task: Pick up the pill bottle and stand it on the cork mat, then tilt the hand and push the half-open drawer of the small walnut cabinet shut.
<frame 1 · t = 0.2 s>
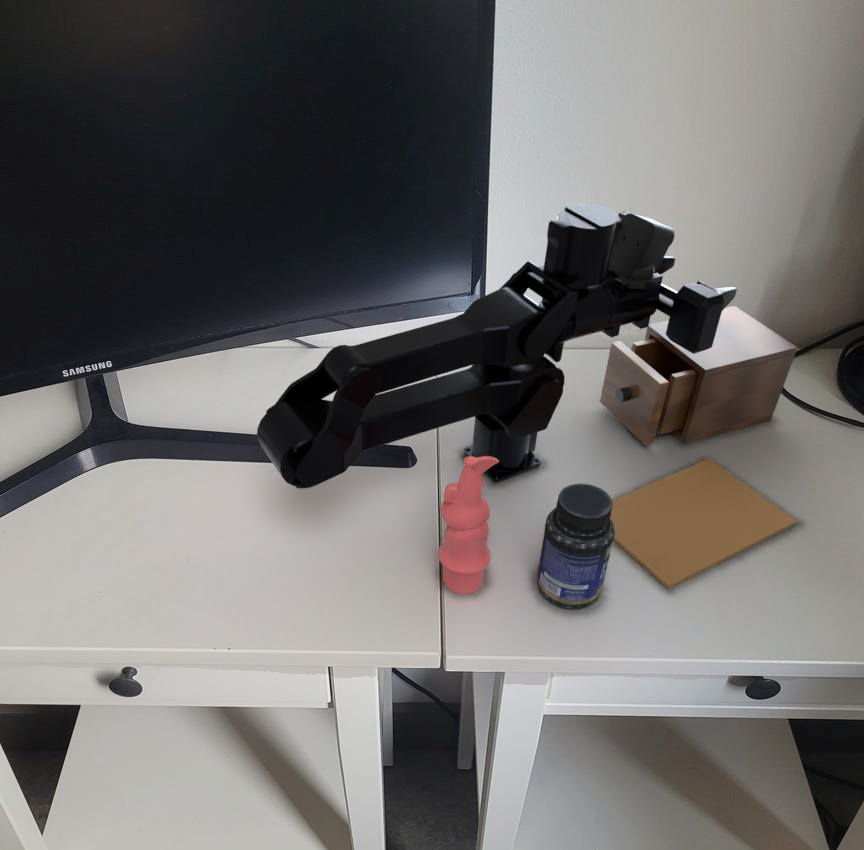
hand: (703, 276, 91), 17 cm above the table, tool horizontal, fingers open, 9 cm apart
drawer: (665, 384, 95), point 5 cm above the table, slide at 4.0 cm
pill bottle: (567, 588, 78), on the table
mat: (689, 519, 85), on the table
figurine: (462, 579, 79), on the table
cabinet: (699, 408, 100), on the table
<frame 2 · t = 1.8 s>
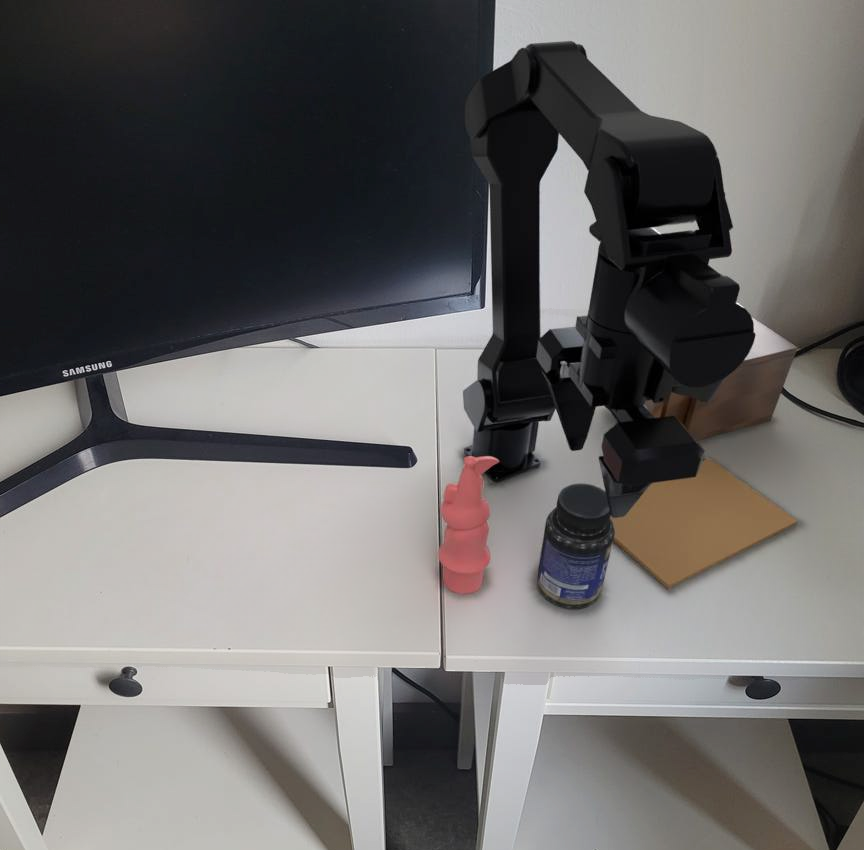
hand: (595, 481, 69), 13 cm above the table, tool pointing down, fingers open, 9 cm apart
nothing on the table moved.
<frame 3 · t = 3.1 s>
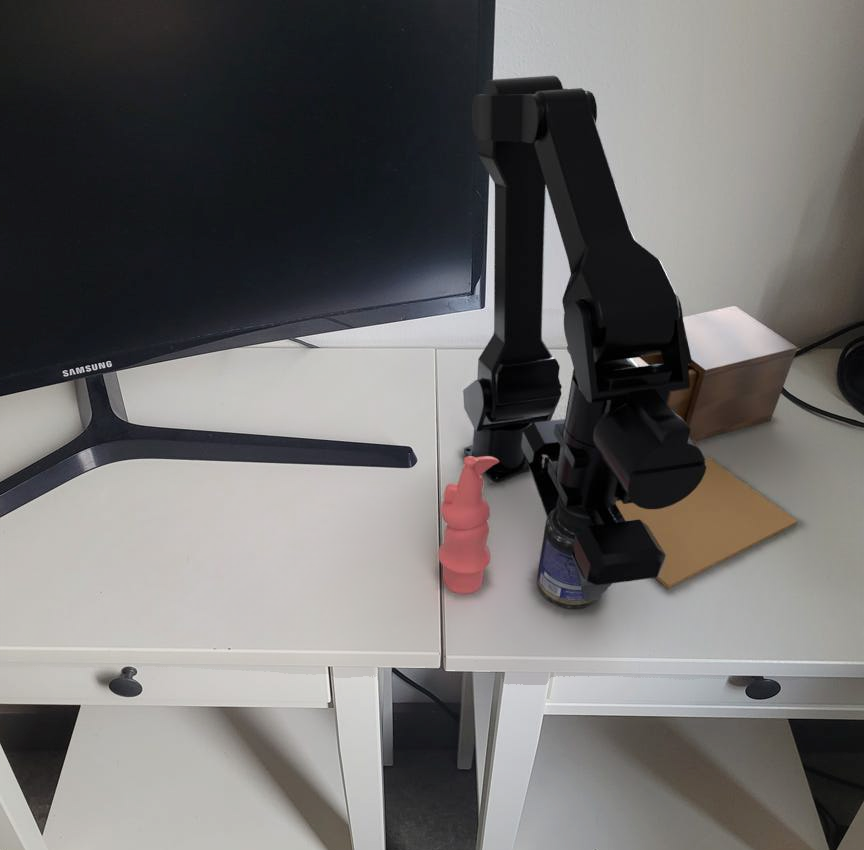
hand: (572, 562, 76), 3 cm above the table, tool pointing down
pill bottle: (567, 588, 78), on the table, touching gripper
everything else where it was.
when the fingers open (4 cm above the table, at t = 9.1 s): pill bottle stays where it is, resting on mat.
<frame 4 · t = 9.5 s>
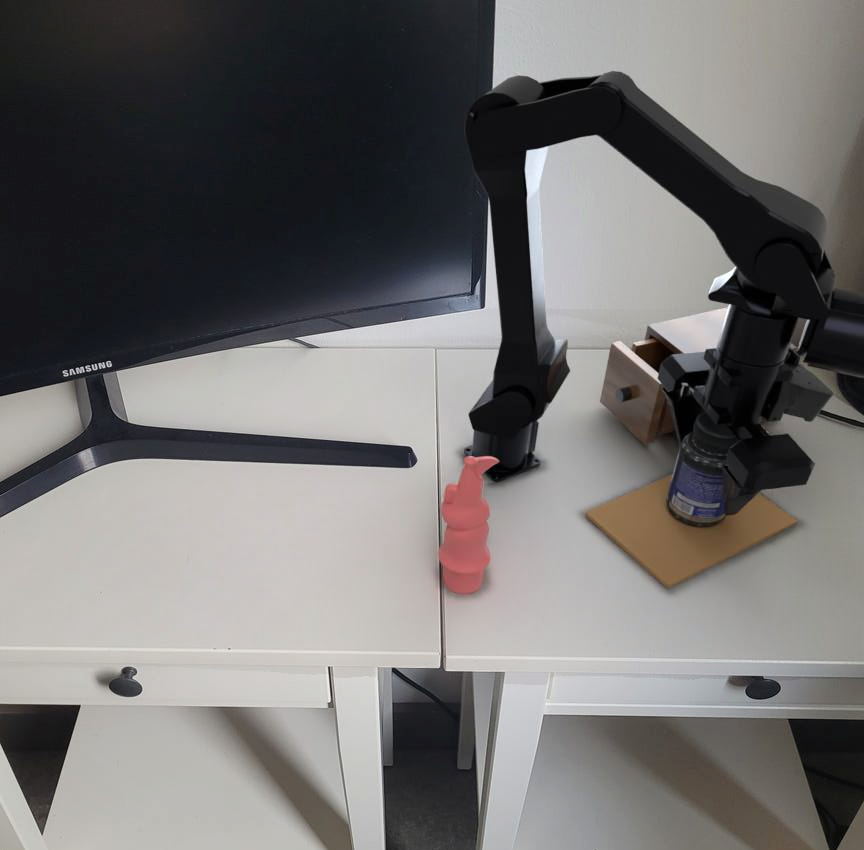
hand: (707, 483, 82), 4 cm above the table, tool pointing down, fingers open, 9 cm apart
pill bottle: (694, 510, 85), resting on mat
everything else where it was.
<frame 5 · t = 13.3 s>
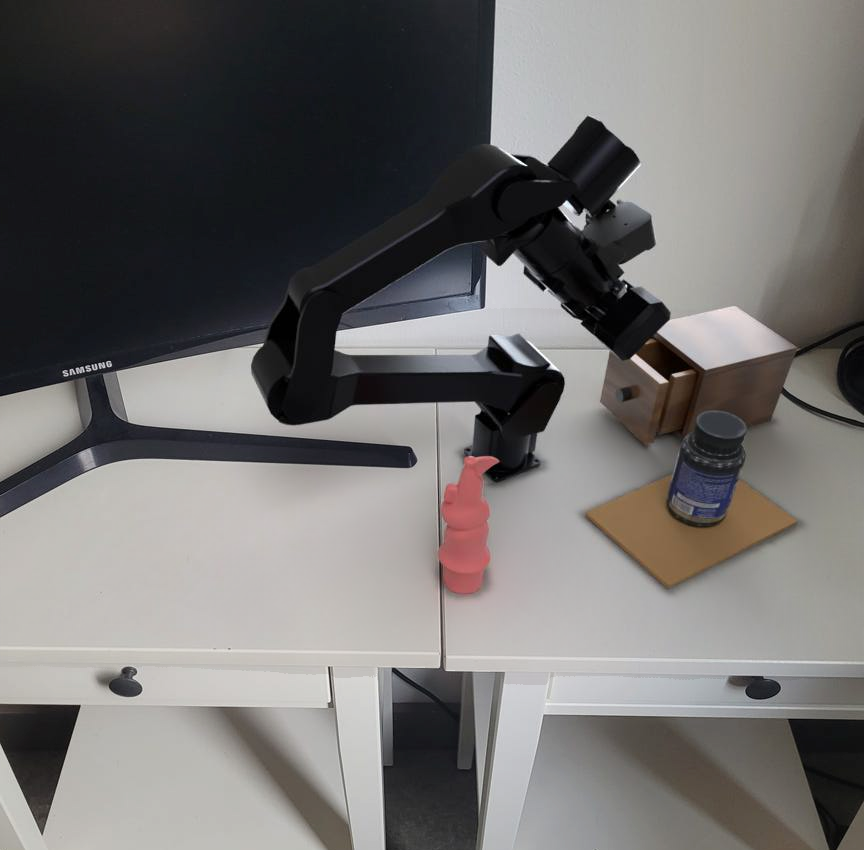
hand: (628, 332, 88), 13 cm above the table, tool tilted 45°, fingers closed
nothing on the table moved.
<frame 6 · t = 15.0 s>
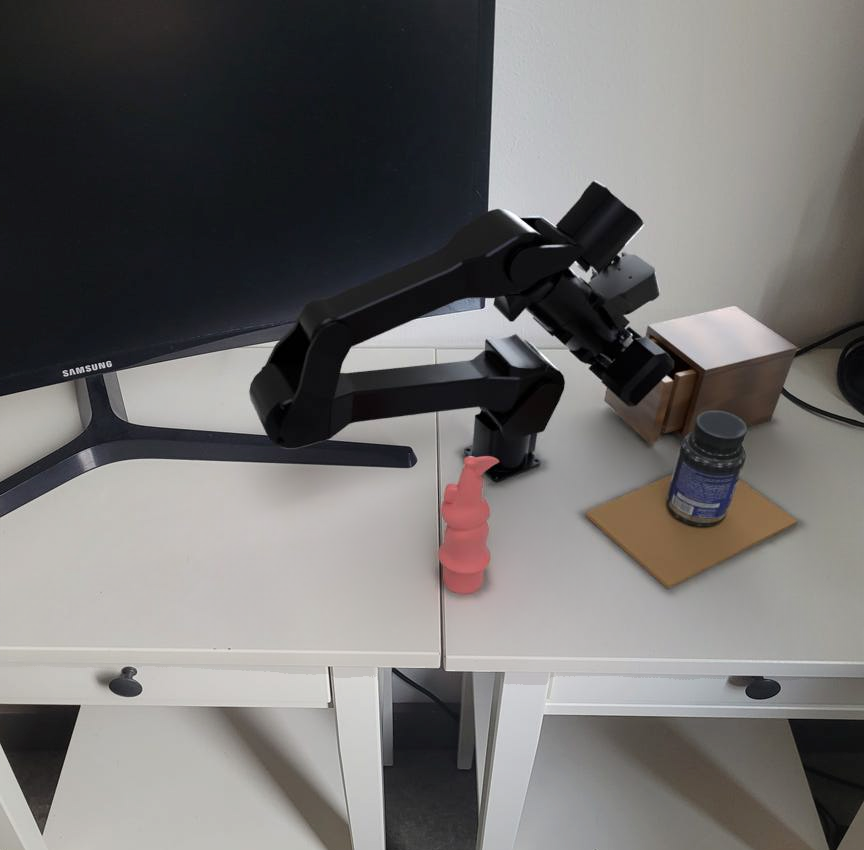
hand: (634, 373, 92), 8 cm above the table, tool tilted 45°, fingers closed, pressing on drawer
drawer: (669, 383, 95), point 5 cm above the table, slide at 3.4 cm, touching gripper
everything else where it was.
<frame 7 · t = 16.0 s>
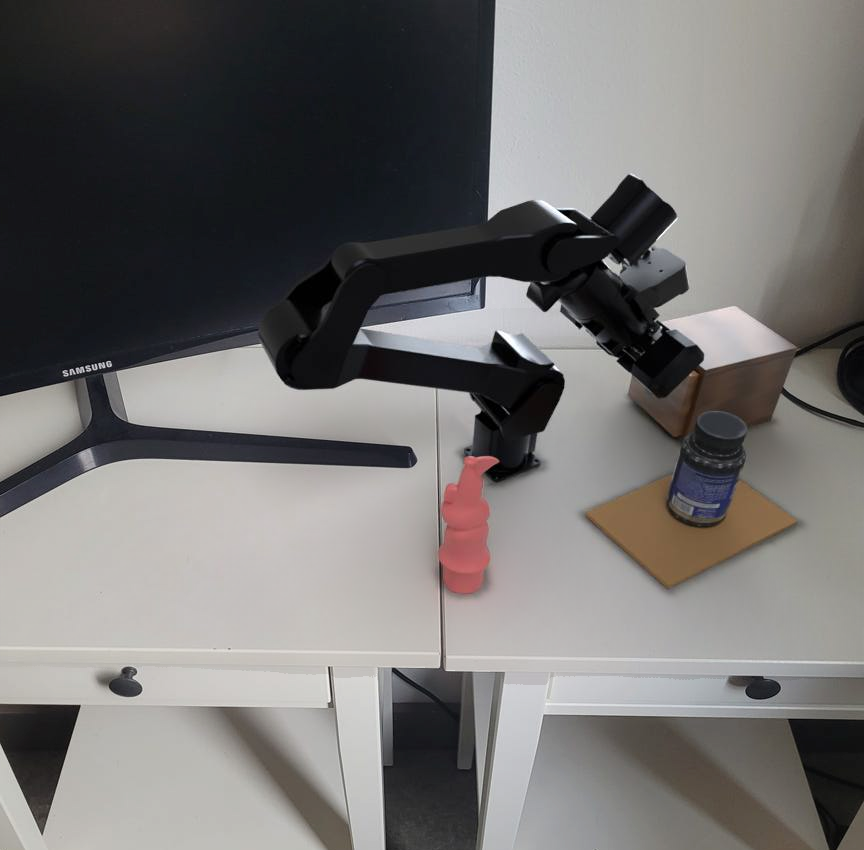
hand: (660, 367, 93), 8 cm above the table, tool tilted 45°, fingers closed, pressing on drawer
drawer: (693, 377, 96), point 5 cm above the table, slide at 0.0 cm, touching cabinet, gripper
everything else where it was.
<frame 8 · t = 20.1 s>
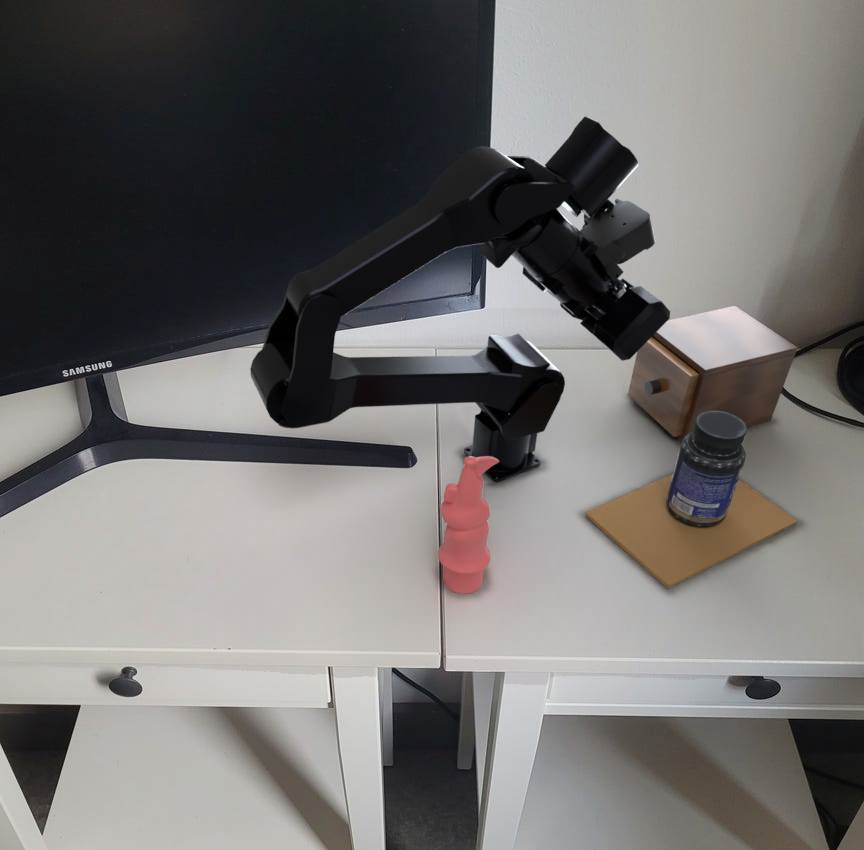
hand: (629, 330, 88), 14 cm above the table, tool tilted 45°, fingers closed
drawer: (693, 377, 96), point 5 cm above the table, slide at 0.0 cm, touching cabinet
everything else where it was.
at the end: drawer slide at 0.0 cm; pill bottle inside the target area on the mat (1.3 cm from its centre), point 0.3 cm above the mat's base; pill bottle tilted 0° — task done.
